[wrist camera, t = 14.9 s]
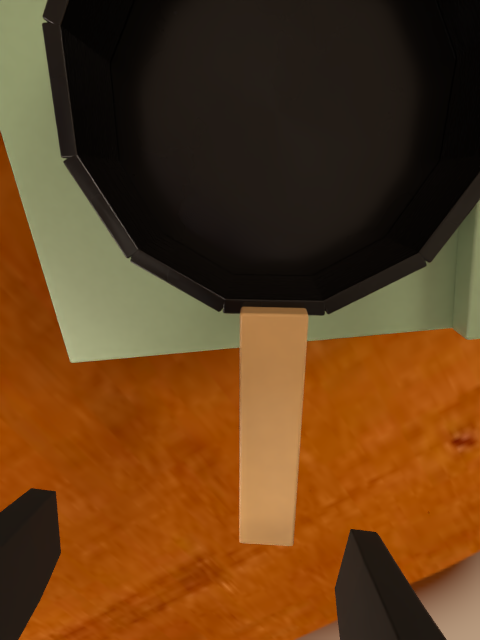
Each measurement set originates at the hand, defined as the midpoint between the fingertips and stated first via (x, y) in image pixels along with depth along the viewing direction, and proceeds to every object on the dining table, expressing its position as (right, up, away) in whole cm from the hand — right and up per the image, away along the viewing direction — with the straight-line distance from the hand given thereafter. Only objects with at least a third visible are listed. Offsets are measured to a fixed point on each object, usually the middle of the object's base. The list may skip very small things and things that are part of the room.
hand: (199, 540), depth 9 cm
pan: (+2, +8, +3) cm, 8 cm away
